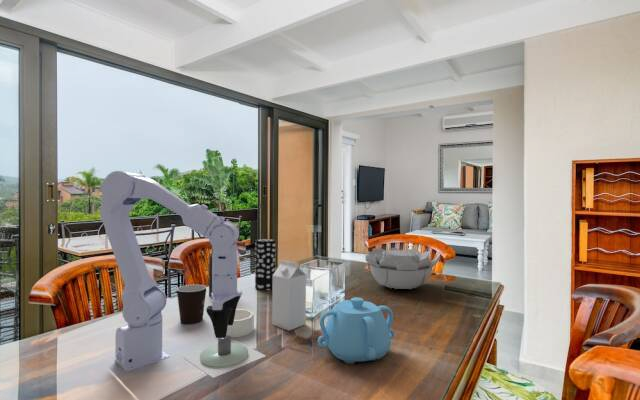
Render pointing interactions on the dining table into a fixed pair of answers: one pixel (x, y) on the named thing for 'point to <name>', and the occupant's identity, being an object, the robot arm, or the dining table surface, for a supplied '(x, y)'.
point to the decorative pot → (357, 330)
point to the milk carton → (289, 296)
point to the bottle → (210, 273)
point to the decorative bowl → (400, 267)
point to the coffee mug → (191, 303)
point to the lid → (224, 354)
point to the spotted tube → (264, 263)
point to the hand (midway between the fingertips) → (224, 330)
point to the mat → (216, 371)
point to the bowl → (241, 323)
